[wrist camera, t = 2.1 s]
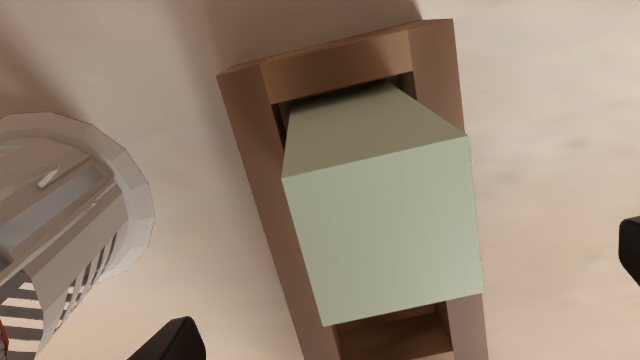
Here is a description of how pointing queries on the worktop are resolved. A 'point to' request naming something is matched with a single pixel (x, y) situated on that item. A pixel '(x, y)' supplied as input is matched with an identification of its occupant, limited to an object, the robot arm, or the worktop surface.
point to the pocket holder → (265, 180)
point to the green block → (380, 203)
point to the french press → (63, 218)
